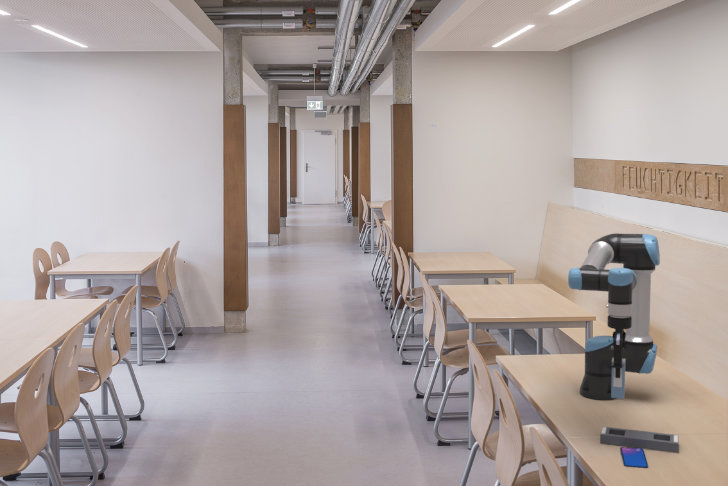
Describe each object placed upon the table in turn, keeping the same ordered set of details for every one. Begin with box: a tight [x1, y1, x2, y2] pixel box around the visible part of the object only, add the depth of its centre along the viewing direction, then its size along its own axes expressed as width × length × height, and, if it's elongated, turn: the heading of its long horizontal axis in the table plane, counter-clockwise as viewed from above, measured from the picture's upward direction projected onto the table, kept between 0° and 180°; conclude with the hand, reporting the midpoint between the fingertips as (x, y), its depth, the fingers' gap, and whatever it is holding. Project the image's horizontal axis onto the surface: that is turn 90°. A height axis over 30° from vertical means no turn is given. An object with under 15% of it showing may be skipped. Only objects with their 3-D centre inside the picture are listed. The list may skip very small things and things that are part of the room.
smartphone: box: [619, 446, 649, 469], centre depth 239 cm, size 7×1×15 cm
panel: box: [599, 426, 680, 454], centre depth 250 cm, size 8×24×3 cm, turn 68°
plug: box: [611, 358, 626, 400], centre depth 251 cm, size 4×4×13 cm
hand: (618, 384), depth 251 cm, fingers closed on plug, 4 cm apart
